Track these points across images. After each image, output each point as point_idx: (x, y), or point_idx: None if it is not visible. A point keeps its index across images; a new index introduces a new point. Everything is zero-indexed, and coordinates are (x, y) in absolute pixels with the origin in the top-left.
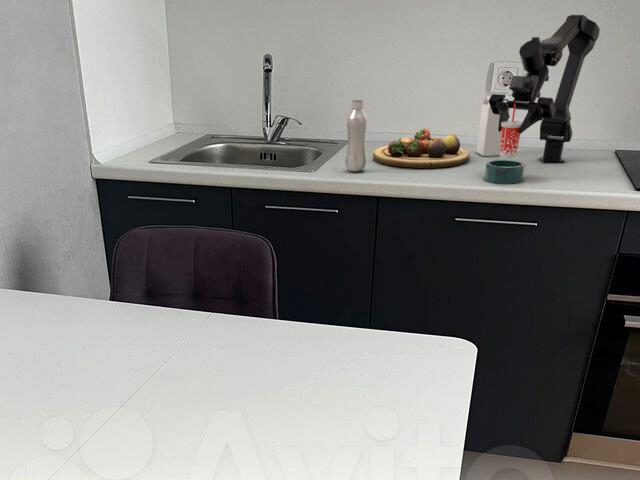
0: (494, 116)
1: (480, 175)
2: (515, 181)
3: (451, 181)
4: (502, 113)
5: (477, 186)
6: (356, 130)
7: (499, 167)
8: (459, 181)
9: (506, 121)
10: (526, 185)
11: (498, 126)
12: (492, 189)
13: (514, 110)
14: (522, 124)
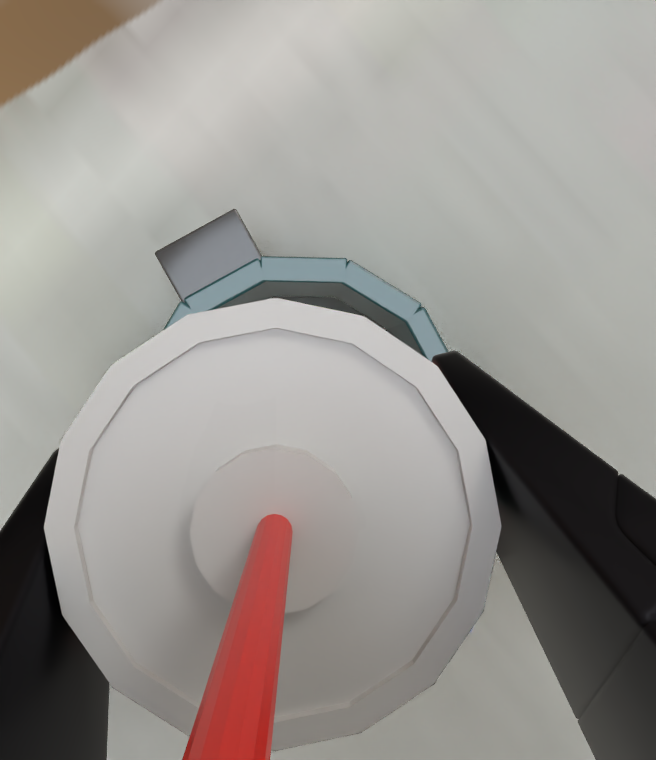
0: None
1: None
2: None
3: (518, 83)
4: (653, 571)
5: (282, 103)
6: None
7: (239, 268)
8: (479, 128)
9: (471, 567)
10: (71, 395)
11: (487, 376)
12: (147, 111)
13: (225, 626)
14: (21, 545)
